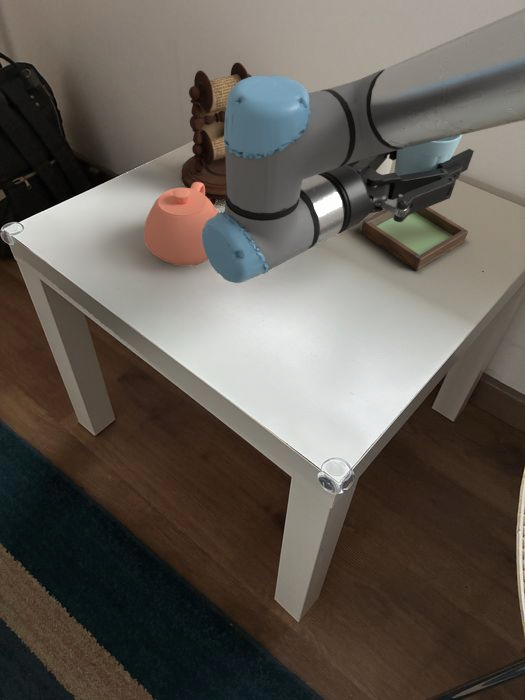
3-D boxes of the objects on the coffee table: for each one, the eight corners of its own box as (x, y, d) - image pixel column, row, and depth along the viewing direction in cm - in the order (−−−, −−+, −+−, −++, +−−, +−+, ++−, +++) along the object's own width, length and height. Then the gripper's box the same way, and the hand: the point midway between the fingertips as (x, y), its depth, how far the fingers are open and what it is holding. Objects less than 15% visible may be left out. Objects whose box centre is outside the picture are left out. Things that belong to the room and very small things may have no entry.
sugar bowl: (132, 263, 82) (122, 205, 74) (171, 212, 91) (165, 156, 83) (207, 282, 80) (205, 225, 72) (239, 229, 89) (240, 173, 81)
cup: (398, 176, 79) (417, 106, 71) (446, 196, 76) (472, 125, 68) (373, 200, 75) (391, 127, 67) (424, 221, 72) (448, 148, 64)
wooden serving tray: (464, 242, 89) (468, 231, 87) (416, 271, 84) (420, 259, 82) (408, 207, 95) (411, 196, 93) (360, 232, 90) (363, 221, 88)
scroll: (236, 155, 104) (237, 43, 89) (279, 192, 96) (288, 76, 81) (167, 175, 98) (156, 59, 83) (207, 216, 91) (203, 96, 75)
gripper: (268, 194, 70) (385, 143, 81) (380, 274, 61) (496, 205, 71) (271, 140, 65) (396, 92, 75) (395, 218, 55) (519, 152, 66)
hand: (445, 147), depth 73 cm, fingers closed on cup, 7 cm apart
